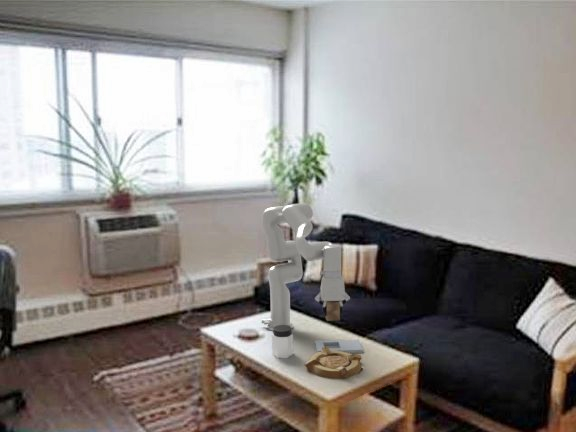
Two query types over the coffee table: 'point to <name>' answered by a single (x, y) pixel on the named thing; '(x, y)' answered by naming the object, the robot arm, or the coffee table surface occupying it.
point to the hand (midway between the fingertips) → (332, 314)
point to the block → (333, 310)
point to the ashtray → (334, 364)
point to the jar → (282, 341)
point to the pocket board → (340, 345)
